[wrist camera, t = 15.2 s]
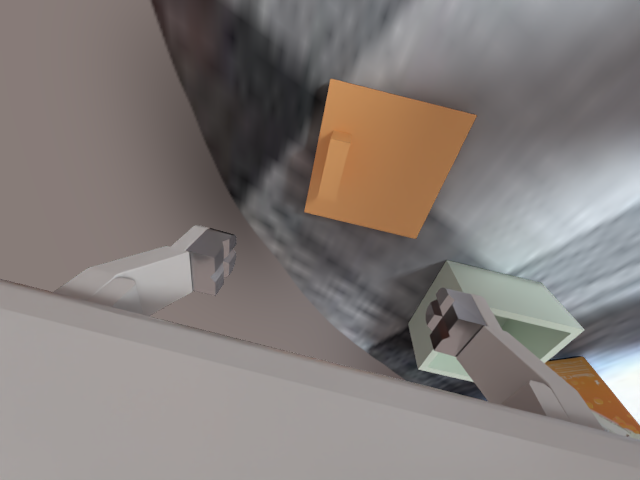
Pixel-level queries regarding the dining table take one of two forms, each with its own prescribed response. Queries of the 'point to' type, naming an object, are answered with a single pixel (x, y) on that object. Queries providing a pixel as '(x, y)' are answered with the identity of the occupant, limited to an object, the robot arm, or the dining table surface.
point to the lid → (382, 158)
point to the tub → (496, 315)
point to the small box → (597, 396)
